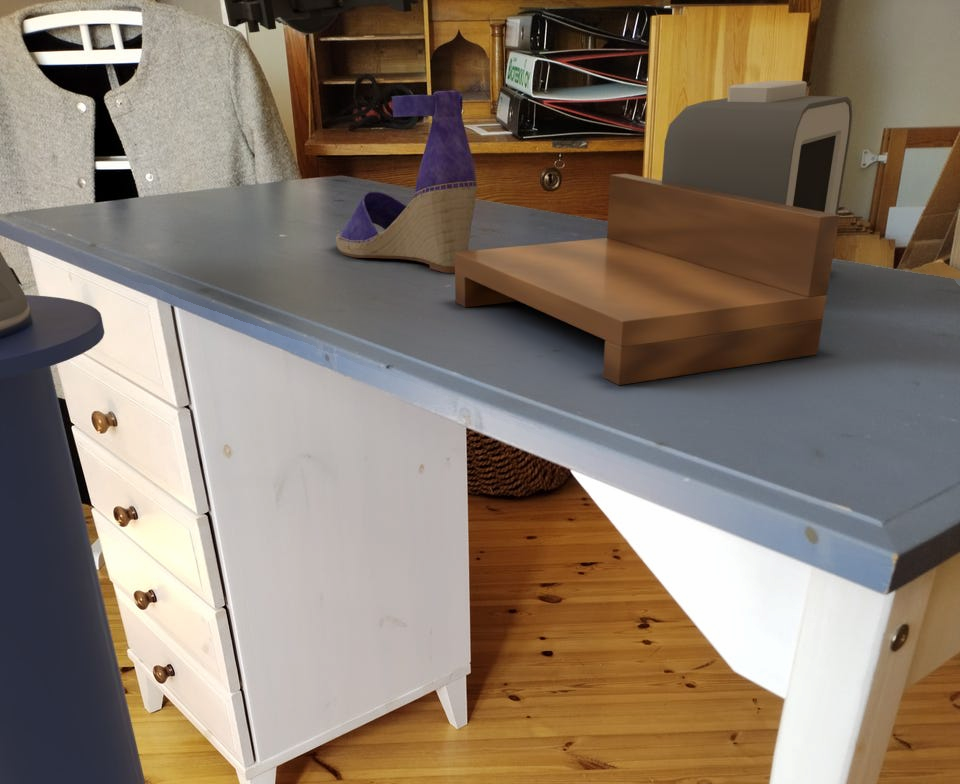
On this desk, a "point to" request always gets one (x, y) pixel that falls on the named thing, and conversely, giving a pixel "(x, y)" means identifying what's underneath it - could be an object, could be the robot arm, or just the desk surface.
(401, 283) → the desk surface
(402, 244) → the sandal
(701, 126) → the alarm clock
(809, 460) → the desk surface
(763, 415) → the desk surface
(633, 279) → the shoe rack
